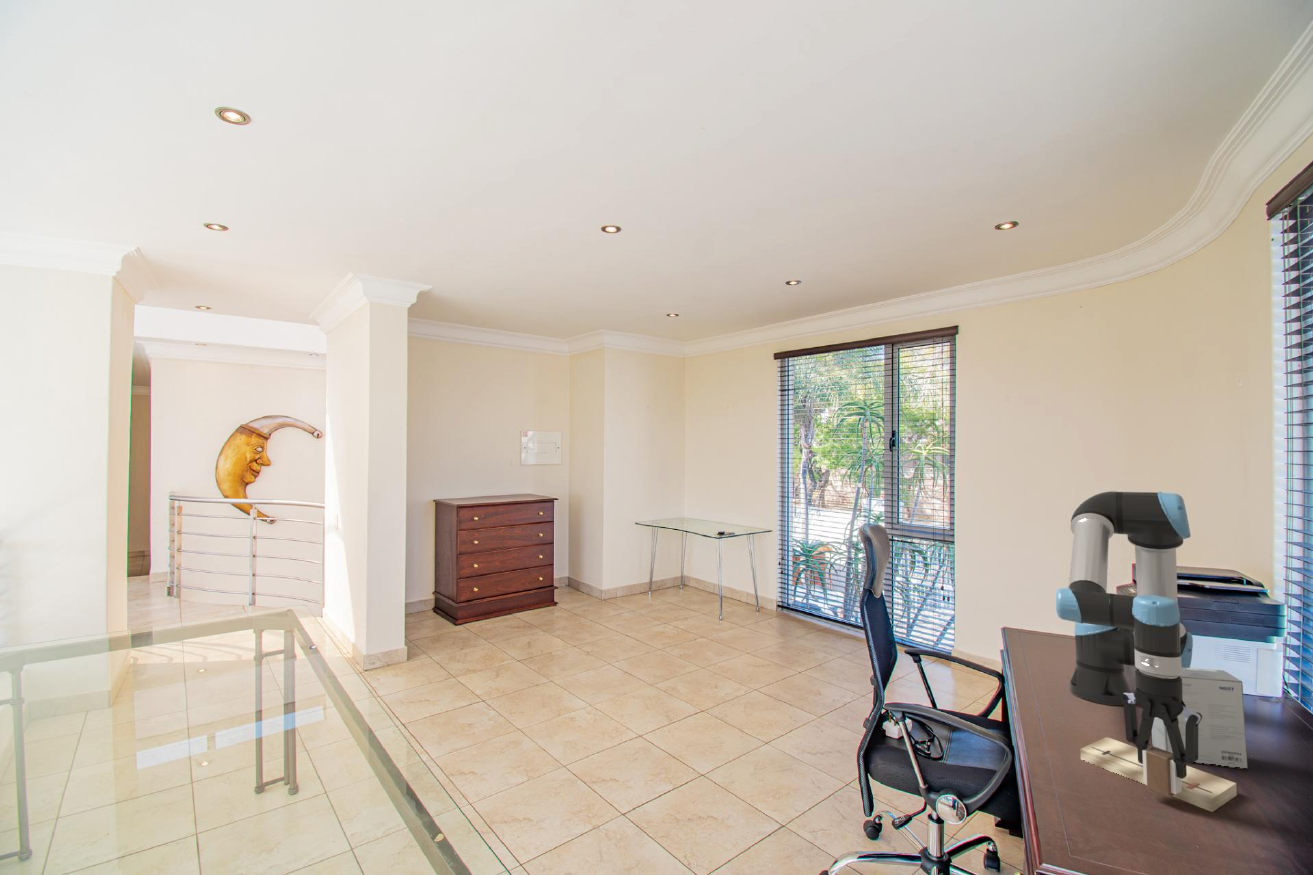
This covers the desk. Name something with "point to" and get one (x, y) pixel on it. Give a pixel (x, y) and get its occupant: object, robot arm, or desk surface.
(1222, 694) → the hard drive box
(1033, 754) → the desk surface
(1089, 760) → the birch board
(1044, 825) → the desk surface
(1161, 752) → the wooden block
